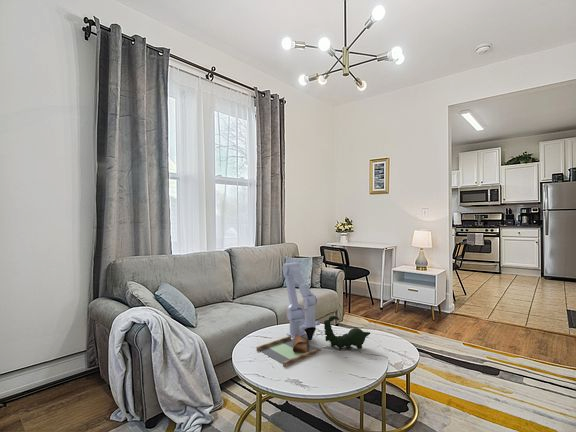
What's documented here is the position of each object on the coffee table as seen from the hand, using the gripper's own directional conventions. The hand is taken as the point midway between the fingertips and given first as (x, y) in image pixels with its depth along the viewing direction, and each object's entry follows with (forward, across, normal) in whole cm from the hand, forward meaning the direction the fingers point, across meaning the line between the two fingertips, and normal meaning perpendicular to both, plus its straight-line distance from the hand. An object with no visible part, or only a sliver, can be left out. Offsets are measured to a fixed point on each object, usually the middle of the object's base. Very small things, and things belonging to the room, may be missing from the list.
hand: (309, 339), depth 186 cm
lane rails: (+2, -17, 0) cm, 17 cm away
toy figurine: (+2, +11, -18) cm, 21 cm away
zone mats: (+2, -14, 0) cm, 14 cm away
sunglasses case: (+2, -7, 0) cm, 7 cm away
